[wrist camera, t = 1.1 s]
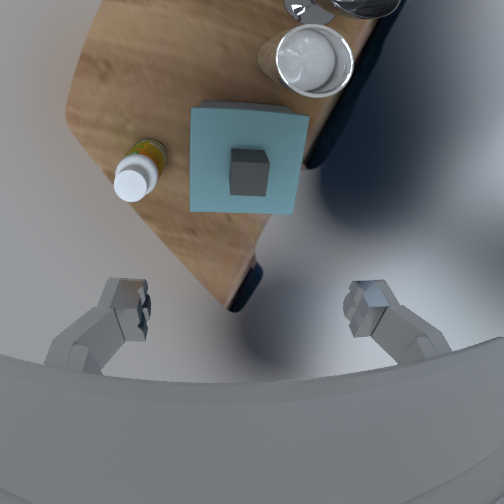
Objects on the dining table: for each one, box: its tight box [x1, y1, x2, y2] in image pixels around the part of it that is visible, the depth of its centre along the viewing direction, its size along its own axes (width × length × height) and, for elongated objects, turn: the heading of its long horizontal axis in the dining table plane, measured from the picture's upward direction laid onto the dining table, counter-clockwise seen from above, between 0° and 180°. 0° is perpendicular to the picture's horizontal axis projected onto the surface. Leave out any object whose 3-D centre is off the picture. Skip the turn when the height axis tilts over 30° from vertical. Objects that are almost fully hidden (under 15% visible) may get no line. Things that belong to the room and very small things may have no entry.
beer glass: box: [257, 24, 354, 98], centre depth 25 cm, size 7×7×15 cm
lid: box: [190, 107, 309, 215], centre depth 29 cm, size 12×12×5 cm
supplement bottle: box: [114, 139, 167, 202], centre depth 33 cm, size 5×5×10 cm
